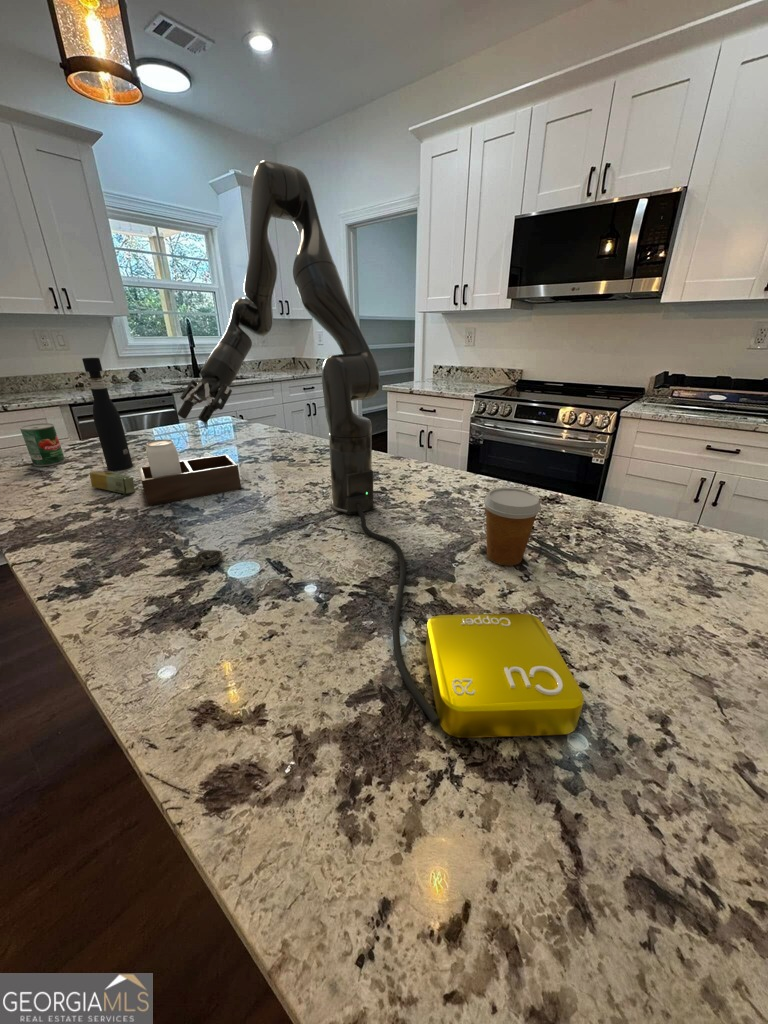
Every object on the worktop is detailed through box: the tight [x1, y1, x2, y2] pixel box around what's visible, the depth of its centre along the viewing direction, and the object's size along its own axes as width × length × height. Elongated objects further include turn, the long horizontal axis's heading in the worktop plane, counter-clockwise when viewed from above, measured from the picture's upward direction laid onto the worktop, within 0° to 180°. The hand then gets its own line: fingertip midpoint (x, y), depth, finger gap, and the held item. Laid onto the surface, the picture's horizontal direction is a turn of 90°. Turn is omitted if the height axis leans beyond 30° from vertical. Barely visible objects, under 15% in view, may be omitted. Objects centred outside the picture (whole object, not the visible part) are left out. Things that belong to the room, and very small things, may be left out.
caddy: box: [137, 453, 242, 507], centre depth 105 cm, size 11×21×6 cm, turn 122°
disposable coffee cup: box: [483, 487, 542, 567], centre depth 74 cm, size 10×10×12 cm
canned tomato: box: [19, 422, 66, 467], centre depth 123 cm, size 8×8×11 cm
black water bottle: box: [81, 357, 134, 471], centre depth 116 cm, size 6×6×30 cm
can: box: [145, 438, 182, 478], centre depth 101 cm, size 6×6×12 cm
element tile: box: [425, 613, 585, 739], centre depth 49 cm, size 15×15×5 cm
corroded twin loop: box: [176, 549, 223, 573], centre depth 73 cm, size 5×8×1 cm, turn 139°
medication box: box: [89, 470, 136, 495], centre depth 105 cm, size 12×3×4 cm, turn 70°
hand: (191, 418), depth 103 cm, fingers open, 8 cm apart
